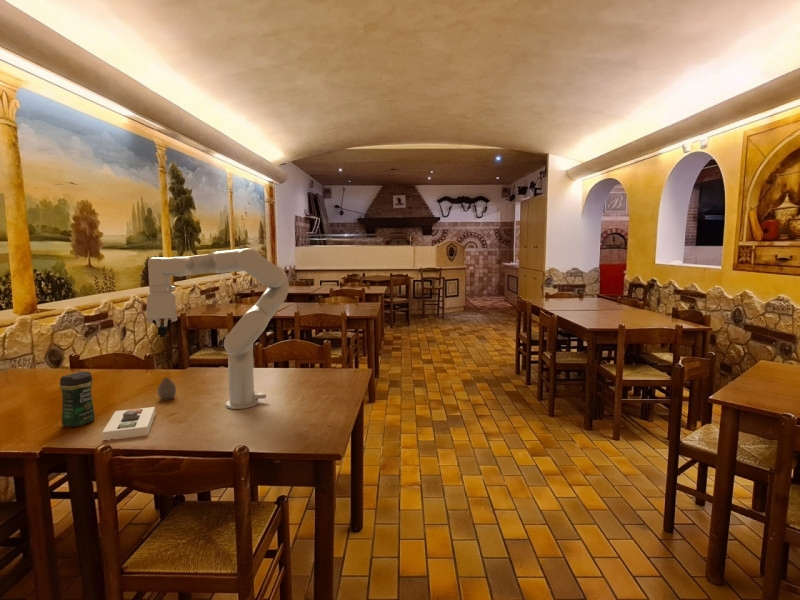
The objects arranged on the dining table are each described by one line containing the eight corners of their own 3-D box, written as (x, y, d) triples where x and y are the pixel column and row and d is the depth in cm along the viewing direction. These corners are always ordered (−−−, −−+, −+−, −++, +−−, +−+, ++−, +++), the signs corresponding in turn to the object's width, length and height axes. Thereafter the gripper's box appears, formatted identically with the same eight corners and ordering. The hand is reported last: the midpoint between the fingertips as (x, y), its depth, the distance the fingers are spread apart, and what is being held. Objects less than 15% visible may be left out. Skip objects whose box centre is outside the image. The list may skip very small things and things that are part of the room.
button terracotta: (141, 415, 173) (141, 408, 173) (140, 419, 169) (139, 411, 169) (128, 417, 172) (127, 409, 172) (126, 421, 168) (125, 413, 167)
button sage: (135, 429, 160) (135, 420, 160) (133, 433, 156) (133, 424, 156) (121, 430, 159) (120, 422, 159) (118, 435, 155) (118, 426, 155)
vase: (168, 401, 192) (167, 381, 191) (154, 400, 193) (153, 380, 193) (180, 396, 199) (179, 376, 198) (165, 395, 200) (164, 375, 199)
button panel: (155, 414, 177) (154, 406, 176) (147, 435, 156) (147, 426, 156) (115, 418, 172) (115, 411, 172) (102, 441, 152) (102, 432, 151)
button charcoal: (138, 418, 167) (138, 410, 167) (136, 422, 163) (136, 414, 162) (124, 420, 165) (124, 411, 165) (122, 424, 161) (121, 415, 161)
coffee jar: (76, 429, 162) (72, 377, 160) (57, 427, 164) (54, 375, 162) (99, 419, 171) (96, 370, 170) (82, 417, 173) (78, 369, 171)
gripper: (182, 288, 184) (184, 333, 186) (139, 289, 179) (142, 336, 180) (181, 289, 177) (183, 337, 179) (136, 290, 172) (139, 339, 174)
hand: (162, 336), depth 180 cm, fingers closed
